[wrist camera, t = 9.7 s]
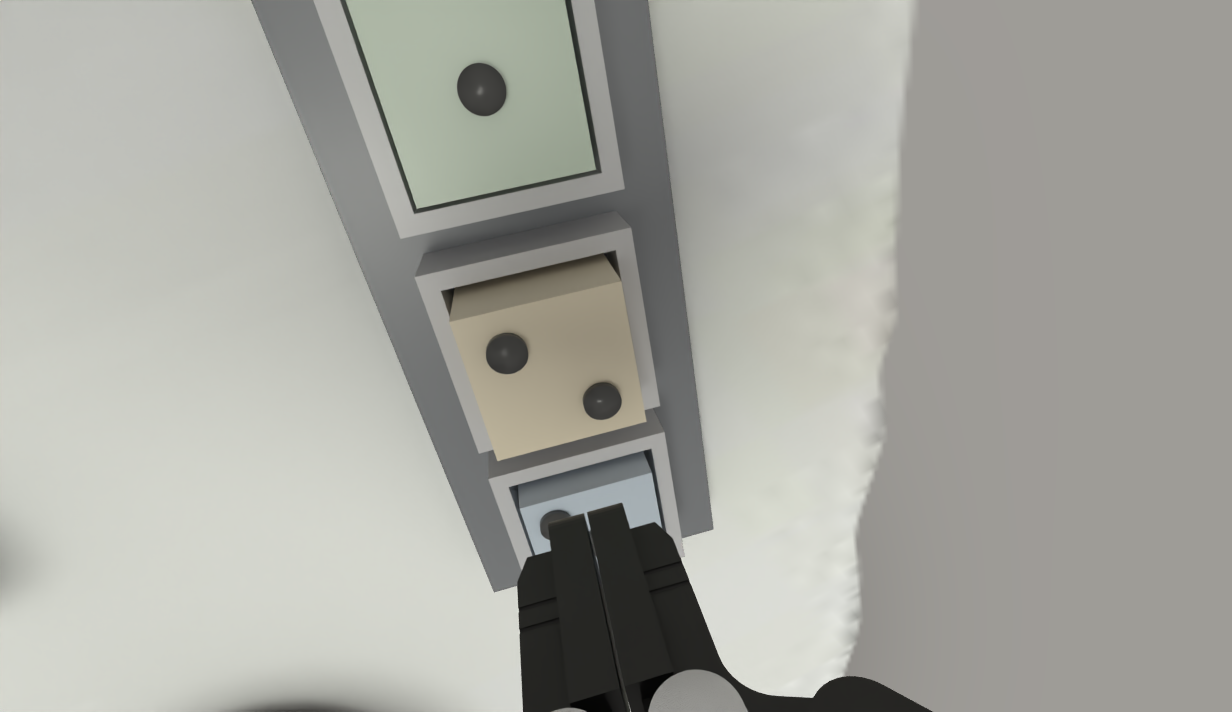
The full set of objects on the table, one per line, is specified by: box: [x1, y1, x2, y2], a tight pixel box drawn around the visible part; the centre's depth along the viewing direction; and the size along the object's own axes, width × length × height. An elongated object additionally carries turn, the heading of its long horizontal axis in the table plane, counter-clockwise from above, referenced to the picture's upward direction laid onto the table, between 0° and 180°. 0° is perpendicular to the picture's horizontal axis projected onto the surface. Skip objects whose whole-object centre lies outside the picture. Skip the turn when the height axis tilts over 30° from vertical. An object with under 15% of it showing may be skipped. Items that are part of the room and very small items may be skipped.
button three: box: [518, 451, 662, 567], centre depth 23 cm, size 5×5×4 cm
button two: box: [449, 253, 647, 461], centre depth 18 cm, size 5×5×4 cm
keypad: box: [251, 0, 713, 592], centre depth 21 cm, size 26×11×4 cm, turn 10°
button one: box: [346, 0, 596, 209], centre depth 16 cm, size 5×5×4 cm
